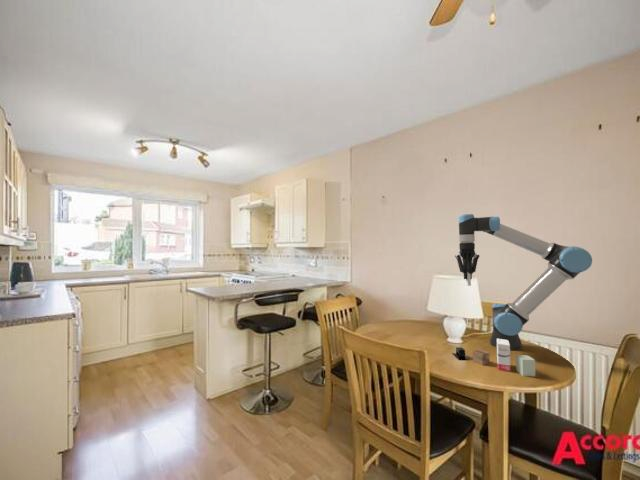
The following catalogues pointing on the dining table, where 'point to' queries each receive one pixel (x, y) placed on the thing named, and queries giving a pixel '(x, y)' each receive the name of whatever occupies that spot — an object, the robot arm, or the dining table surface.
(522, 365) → the sage block
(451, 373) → the dining table surface
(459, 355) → the black bracket plate
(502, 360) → the ink box
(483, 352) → the walnut cube
